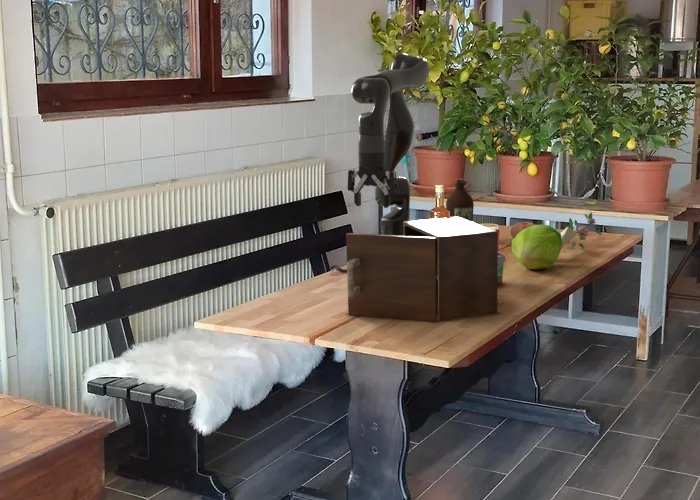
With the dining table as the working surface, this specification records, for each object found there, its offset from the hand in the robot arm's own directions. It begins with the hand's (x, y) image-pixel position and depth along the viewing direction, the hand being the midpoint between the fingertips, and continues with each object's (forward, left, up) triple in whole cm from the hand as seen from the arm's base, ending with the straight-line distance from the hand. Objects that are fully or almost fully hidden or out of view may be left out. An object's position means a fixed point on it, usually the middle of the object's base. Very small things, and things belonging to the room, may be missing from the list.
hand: (372, 206), depth 267 cm
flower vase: (+34, +96, -31) cm, 106 cm away
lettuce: (+30, +66, -31) cm, 79 cm away
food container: (+24, +41, -31) cm, 57 cm away
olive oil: (-9, +99, -31) cm, 104 cm away
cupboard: (+19, +12, -31) cm, 38 cm away
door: (+8, -8, -31) cm, 33 cm away
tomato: (+14, +109, -31) cm, 114 cm away
